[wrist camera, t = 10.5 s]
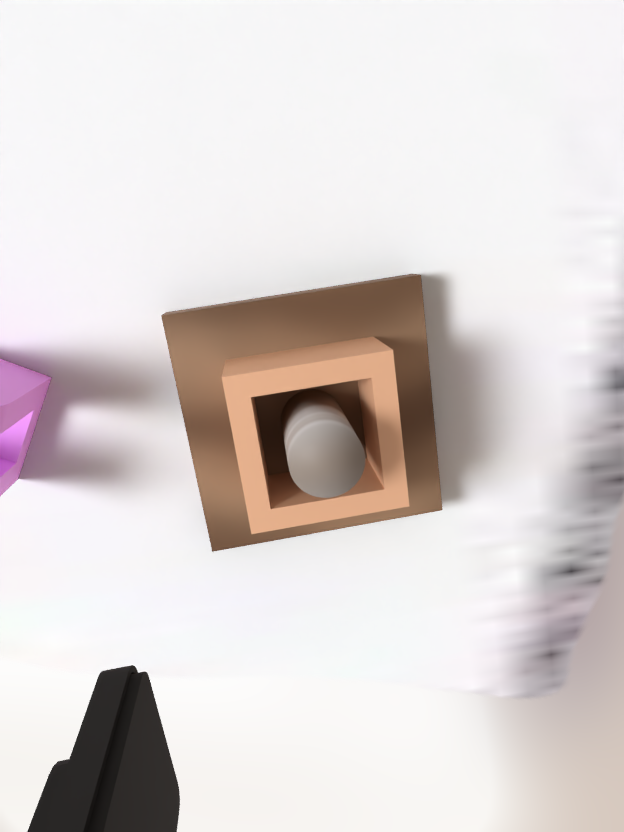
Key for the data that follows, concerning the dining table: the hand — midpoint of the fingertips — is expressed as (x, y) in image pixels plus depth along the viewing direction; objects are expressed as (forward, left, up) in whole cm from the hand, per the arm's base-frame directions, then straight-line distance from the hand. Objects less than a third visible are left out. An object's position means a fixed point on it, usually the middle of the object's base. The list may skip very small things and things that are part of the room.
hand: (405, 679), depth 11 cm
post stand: (0, 0, -20) cm, 20 cm away
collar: (0, 0, -18) cm, 18 cm away
